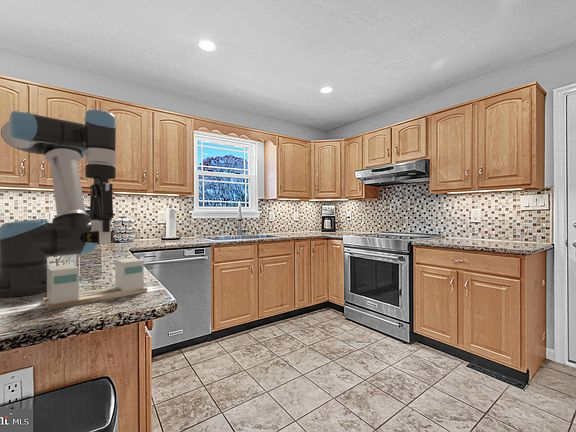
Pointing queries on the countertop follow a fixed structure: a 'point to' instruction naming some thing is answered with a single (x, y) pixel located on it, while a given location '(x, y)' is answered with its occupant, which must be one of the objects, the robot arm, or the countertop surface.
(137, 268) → the mounted modules
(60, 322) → the countertop surface
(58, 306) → the rail board
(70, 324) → the countertop surface
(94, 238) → the tape measure
